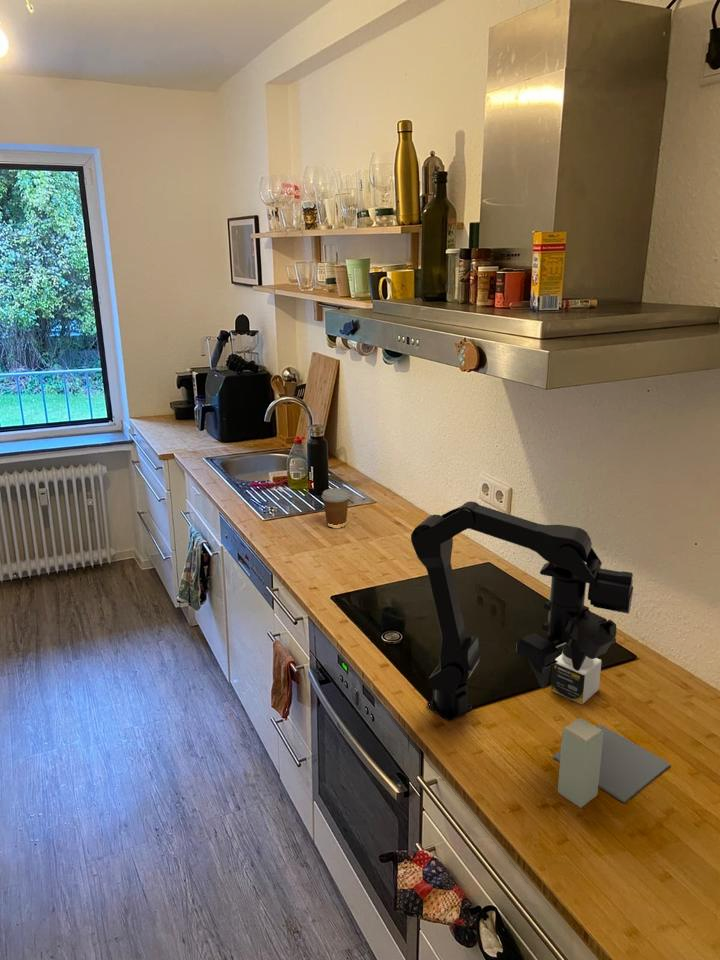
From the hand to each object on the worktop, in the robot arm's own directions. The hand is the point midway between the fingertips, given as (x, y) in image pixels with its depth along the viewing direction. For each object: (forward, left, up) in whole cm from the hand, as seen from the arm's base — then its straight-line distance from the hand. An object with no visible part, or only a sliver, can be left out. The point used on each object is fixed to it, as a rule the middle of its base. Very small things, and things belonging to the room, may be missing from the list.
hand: (560, 678), depth 124 cm
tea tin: (+11, -9, -12) cm, 19 cm away
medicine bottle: (-7, +15, -13) cm, 21 cm away
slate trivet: (+10, +2, -12) cm, 16 cm away
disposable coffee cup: (-116, +33, -13) cm, 121 cm away
